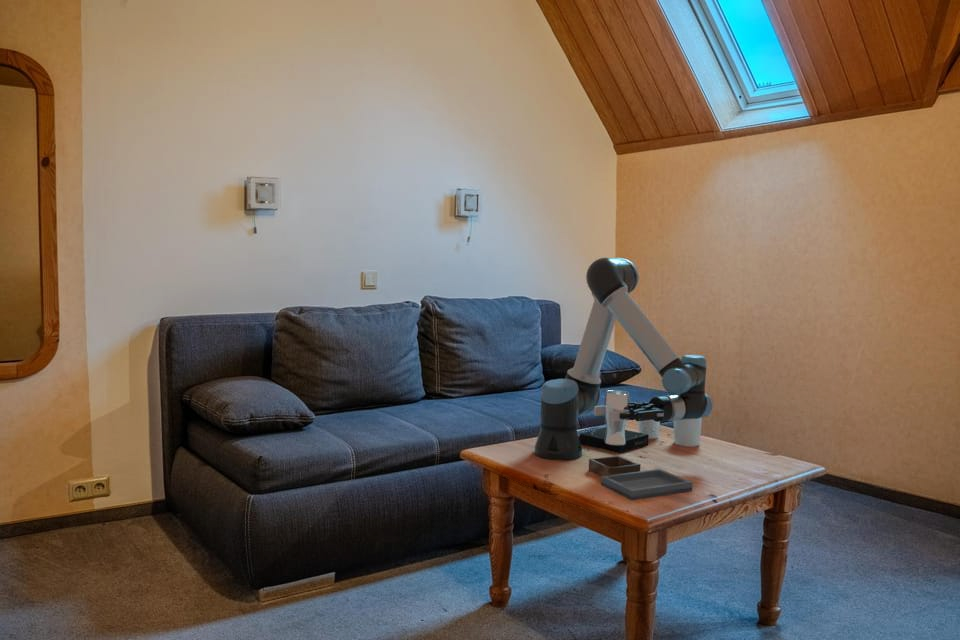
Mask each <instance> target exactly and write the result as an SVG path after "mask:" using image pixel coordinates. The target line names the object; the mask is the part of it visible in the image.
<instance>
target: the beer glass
mask: <svg viewBox="0 0 960 640" xmlns="http://www.w3.org/2000/svg"><path fill="white" fill-rule="evenodd" d="M629 393H630V392H628V391H624V390H616V389H612V390H610V389H609V390H606V391H605V396H604V397H605V398H604V405H605V415H604V418H605V427H606V436H605V441H604V442H605V443H606V444H609V445H616V446H620V445H625V444H626V441H625V430H626V426H627V421H628V420H619V421H608V414H609V411H621V410H629V402H630V396H629V395H630V394H629Z"/></svg>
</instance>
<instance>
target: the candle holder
mask: <svg viewBox="0 0 960 640" xmlns="http://www.w3.org/2000/svg"><path fill="white" fill-rule="evenodd" d="M702 420H703V418H698V419H682V420H674V422H673V442H674V444H675V445H677V446H681V447H688V448H690V447H691V448H692V447H698V446H699V445H700V444H701V443H700V442H701V434H702V433H701V432H702Z"/></svg>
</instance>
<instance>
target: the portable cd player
mask: <svg viewBox="0 0 960 640" xmlns="http://www.w3.org/2000/svg"><path fill="white" fill-rule="evenodd" d="M578 436H579V440H580V443H581V446H582V445H583V446H587V447H591V448H596V449H600V450H603V451H608V452H613V453H616V454H623V453H625V452H629V451H633V450H636V449H639V448H642V447H647V446H649V439H648V436H649V435H648V434H643V433H639V431H638V432H637V431H632V430H628V429H625V441H626V444H625V445H620V446H616V445H609V444H606V443H605V442H604V441H605V436H606V426H605V427H600V428H597V429H596V428H595V429H593V430H590V431H589V430H588V431H584V432H581V433H579V434H578Z"/></svg>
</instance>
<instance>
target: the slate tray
mask: <svg viewBox="0 0 960 640" xmlns="http://www.w3.org/2000/svg"><path fill="white" fill-rule="evenodd" d="M600 477H601V479H600V480H601V481H600V485H601V487H603V488H606V489H607V490H610V491H611V492H614V493H616V494H618V495H619V496H622V497H624V498H626V499H627V500H630V501H635V500H644V499H649V498H655V497H656V498H657V497H662V496H671V495H675V494H676V495H677V494H682V493H690V492H693V481H690V480H688V479H685V478H683V477H681V476H679V475H676V474H673V473H671V472H668V471H665V470H664V469H662V468H653V469H647V470H646V469H645V470H640V471H638V472H630V473H623V474H615V475H608V476H600Z"/></svg>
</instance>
